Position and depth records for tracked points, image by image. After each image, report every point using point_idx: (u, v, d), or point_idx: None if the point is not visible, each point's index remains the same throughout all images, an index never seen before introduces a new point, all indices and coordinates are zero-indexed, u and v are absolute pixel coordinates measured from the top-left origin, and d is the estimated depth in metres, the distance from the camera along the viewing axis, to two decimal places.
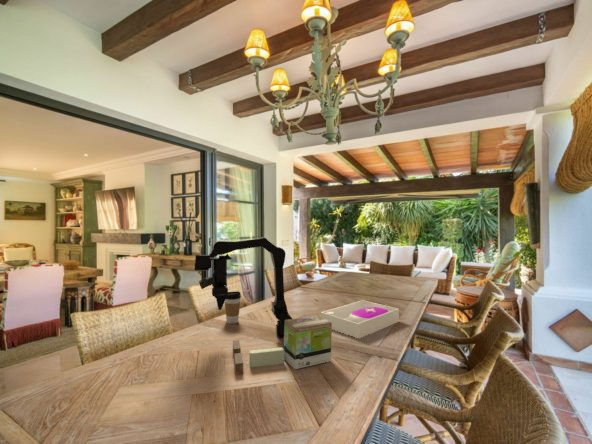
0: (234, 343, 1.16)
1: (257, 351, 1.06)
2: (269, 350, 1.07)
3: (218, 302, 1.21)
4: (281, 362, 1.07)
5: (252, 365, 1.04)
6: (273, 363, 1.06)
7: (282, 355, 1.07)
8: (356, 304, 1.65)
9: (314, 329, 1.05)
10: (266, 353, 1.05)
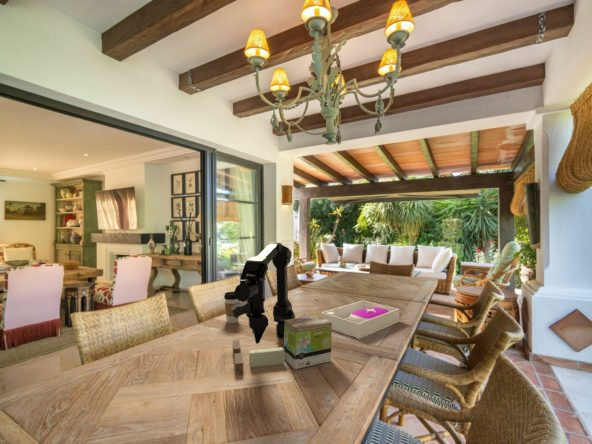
0: (234, 343, 1.16)
1: (257, 351, 1.06)
2: (269, 350, 1.07)
3: (256, 335, 1.00)
4: (281, 362, 1.07)
5: (252, 365, 1.04)
6: (273, 363, 1.06)
7: (282, 355, 1.07)
8: (356, 304, 1.65)
9: (314, 329, 1.05)
10: (266, 353, 1.05)
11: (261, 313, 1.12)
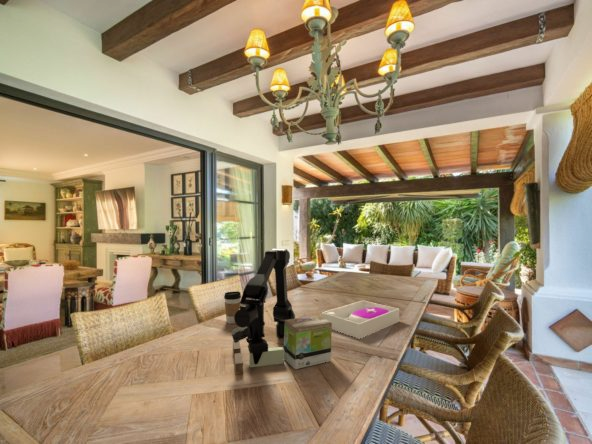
0: (234, 343, 1.16)
1: None
2: (269, 349, 1.07)
3: (255, 356, 1.03)
4: (281, 361, 1.07)
5: (252, 365, 1.04)
6: (273, 362, 1.06)
7: (282, 355, 1.07)
8: (356, 304, 1.65)
9: (314, 329, 1.05)
10: (266, 352, 1.05)
11: (262, 339, 1.09)
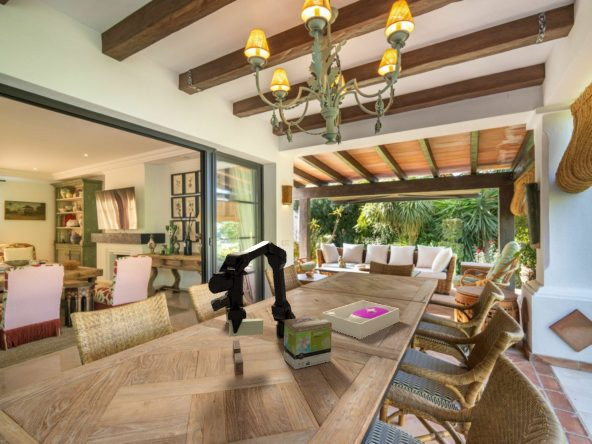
0: (234, 343, 1.16)
1: None
2: (249, 320, 1.08)
3: (234, 325, 1.04)
4: (260, 332, 1.08)
5: (231, 334, 1.05)
6: (252, 333, 1.07)
7: (261, 325, 1.08)
8: (356, 304, 1.65)
9: (314, 329, 1.05)
10: (246, 323, 1.07)
11: None
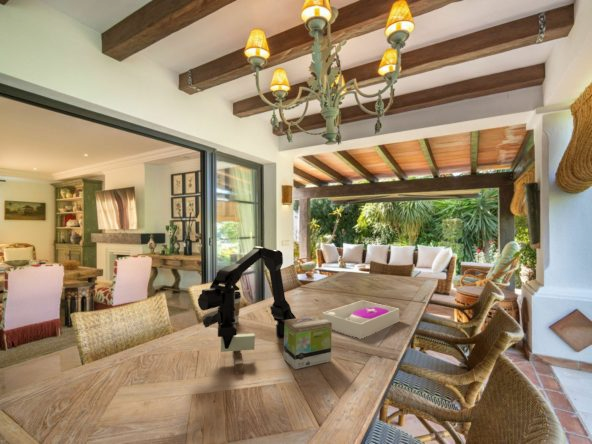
0: None
1: None
2: (240, 335, 1.09)
3: (225, 340, 1.05)
4: (252, 348, 1.09)
5: (223, 349, 1.06)
6: (244, 348, 1.08)
7: (253, 341, 1.09)
8: (356, 304, 1.65)
9: (314, 329, 1.05)
10: (237, 338, 1.08)
11: (234, 324, 1.11)
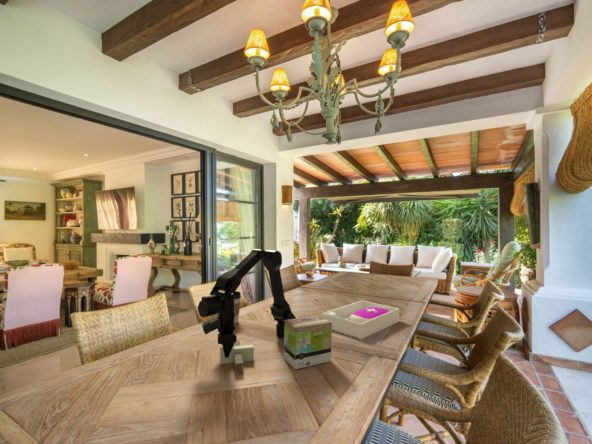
0: (234, 343, 1.16)
1: None
2: (239, 347, 1.09)
3: (225, 349, 1.03)
4: (251, 359, 1.09)
5: (222, 362, 1.06)
6: (243, 360, 1.08)
7: (252, 352, 1.09)
8: (356, 304, 1.65)
9: (314, 329, 1.05)
10: (236, 350, 1.08)
11: (233, 329, 1.13)
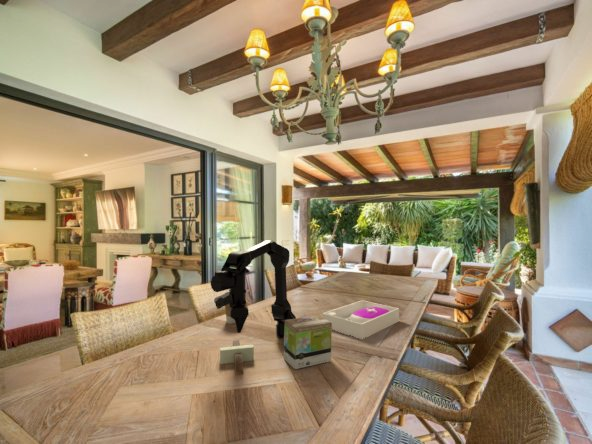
0: (234, 343, 1.16)
1: (227, 348, 1.08)
2: (239, 347, 1.09)
3: (237, 324, 1.05)
4: (251, 359, 1.09)
5: (222, 362, 1.06)
6: (243, 360, 1.08)
7: (252, 352, 1.09)
8: (356, 304, 1.65)
9: (314, 329, 1.05)
10: (236, 350, 1.08)
11: (244, 304, 1.17)
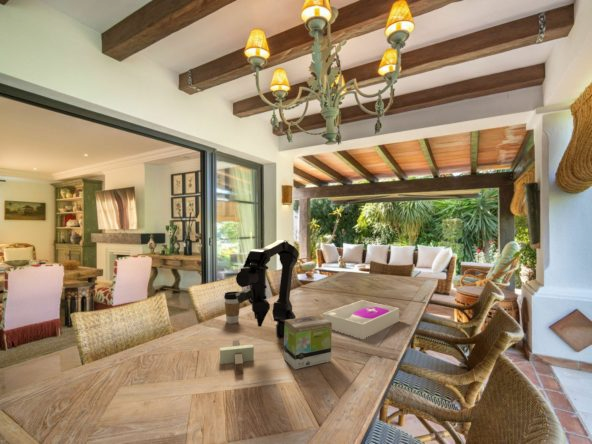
0: (234, 343, 1.16)
1: (227, 348, 1.08)
2: (239, 347, 1.09)
3: (258, 318, 1.09)
4: (251, 359, 1.09)
5: (222, 362, 1.06)
6: (243, 360, 1.08)
7: (252, 352, 1.09)
8: (356, 304, 1.65)
9: (314, 329, 1.05)
10: (236, 350, 1.08)
11: None
